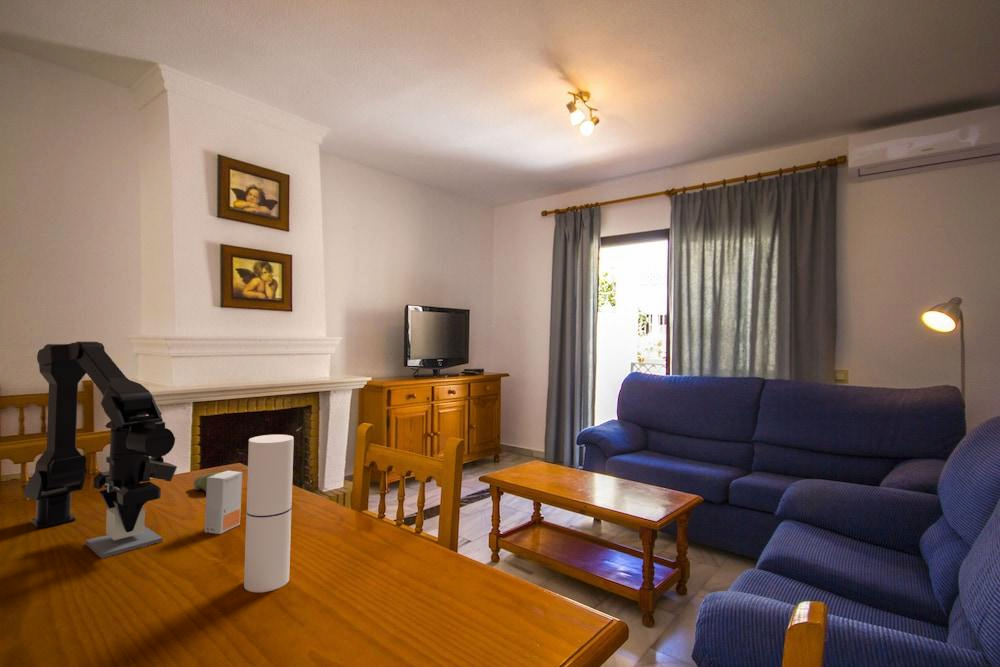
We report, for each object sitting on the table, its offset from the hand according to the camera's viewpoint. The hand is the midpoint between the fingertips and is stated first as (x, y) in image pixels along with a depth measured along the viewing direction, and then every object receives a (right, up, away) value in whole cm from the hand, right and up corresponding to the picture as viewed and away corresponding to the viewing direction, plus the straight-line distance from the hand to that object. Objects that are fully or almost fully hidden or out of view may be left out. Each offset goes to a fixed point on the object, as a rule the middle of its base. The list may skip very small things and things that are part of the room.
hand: (124, 528), depth 100 cm
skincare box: (+15, -4, +9) cm, 18 cm away
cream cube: (0, -1, 0) cm, 1 cm away
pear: (-3, -4, +34) cm, 34 cm away
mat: (0, -3, 0) cm, 3 cm away
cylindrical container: (+36, -4, -14) cm, 38 cm away
